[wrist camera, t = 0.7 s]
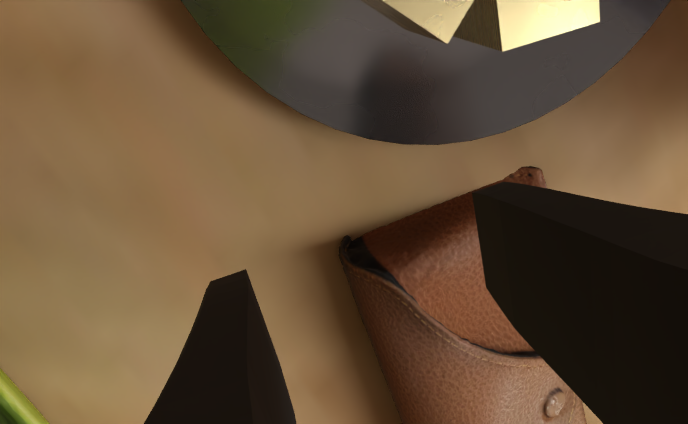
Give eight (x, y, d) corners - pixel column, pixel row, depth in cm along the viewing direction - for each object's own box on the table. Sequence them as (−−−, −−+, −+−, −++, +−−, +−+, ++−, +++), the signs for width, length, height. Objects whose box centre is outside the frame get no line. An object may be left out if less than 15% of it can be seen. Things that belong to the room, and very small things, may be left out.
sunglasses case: (604, 467, 30) (620, 610, 25) (464, 466, 33) (451, 594, 28) (541, 147, 22) (544, 255, 17) (361, 180, 25) (315, 282, 19)
